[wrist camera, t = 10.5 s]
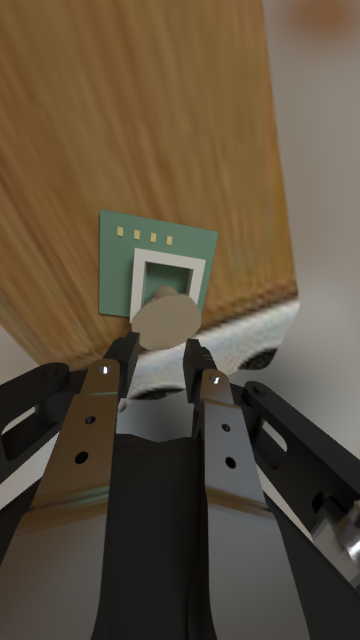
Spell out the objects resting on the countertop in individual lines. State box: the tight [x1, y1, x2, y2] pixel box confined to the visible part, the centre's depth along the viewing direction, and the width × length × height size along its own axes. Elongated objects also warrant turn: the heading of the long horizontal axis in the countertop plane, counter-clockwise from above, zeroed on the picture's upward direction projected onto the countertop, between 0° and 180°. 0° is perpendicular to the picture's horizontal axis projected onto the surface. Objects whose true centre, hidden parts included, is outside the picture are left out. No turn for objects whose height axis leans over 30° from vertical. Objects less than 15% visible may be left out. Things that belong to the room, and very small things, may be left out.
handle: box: [132, 285, 201, 350], centre depth 23 cm, size 5×6×15 cm
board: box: [99, 209, 219, 317], centre depth 29 cm, size 16×18×1 cm
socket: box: [130, 248, 206, 323], centre depth 28 cm, size 12×10×4 cm
